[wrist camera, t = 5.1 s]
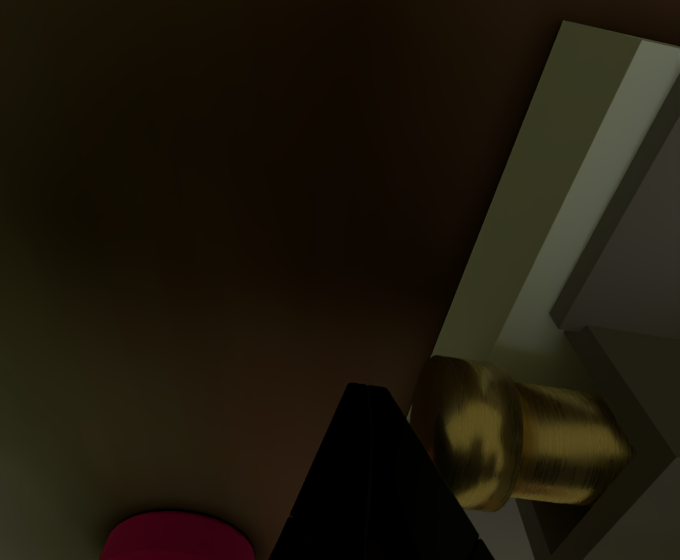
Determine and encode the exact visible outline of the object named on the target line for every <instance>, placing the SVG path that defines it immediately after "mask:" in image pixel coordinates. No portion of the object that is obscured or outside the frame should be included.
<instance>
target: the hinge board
mask: <svg viewBox="0 0 680 560" xmlns="http://www.w3.org/2000/svg"><path fill="white" fill-rule="evenodd" d="M434 355H441V356H447V357H454V358H461V359H468V360H475V361H482V362H488V363H495V364H498V365H501V366H502V367H503V368H505V370H506V371H507V372H508V373H509V375H510V376H511V378H512V380H513V381H515V382H522V383H529V384H536V385H543V386H550V387H557V388H564V389H571V390H578V391H585V392H592V393H599V394H601V395H602V397H603V398H604V400H605V402H606V403H607V405H608V407H609V408H610V410H611V412H612V413H613V415H614V417H615V418H616V420H617V422H618V423H619V425H620V427H621V428H622V430H623V432H624V433H625V435H626V437H627V438H628V440H629V442H630V443H631V445H632V447H633V448H634V450H635V452H636V453H637V454H636V455H635V456H634V457H633V459H632V460H631V461H630V462H629V463H628V465H627V466H626V467H625V468H624V469H623V471H622V472H621V473H620V474H619V475H618V477H617V478H616V479H615V480H614V481H613V483H612V484H611V485H610V486H609V487H608V489H607V490H606V491H605V492H604V493H603V494H602V496H601V497H600V498H599V499H598V500H597V502H596V503H595V504H594V505H593V506H592V507H588V506H579V505H571V504H562V503H554V502H545V501H537V500H528V499H520V498H511V497H510V498H509V500H508V502H507V503H506V504H505V505H504V506H503V507H502V508H501V509H500V510H498V511H496V512H492V513H490V512H481V511H473V510H464V509H463V510H464V511H465V513H466V514H467V516H468V518H469V519H470V521H471V522H472V524H473V526H474V527H475V529H476V530H477V532H478V533H479V538H481V539H482V540H483V541H484V543H485V544H486V546H487V548H488V549H489V551H490V552H491V554H492V555H493V557H494V559H495V560H680V46H676V45H671V44H667V43H662V42H658V41H653V40H649V39H644V38H640V37H636V36H631V35H627V34H622V33H618V32H613V31H609V30H605V29H600V28H596V27H591V26H587V25H582V24H578V23H574V22H569V21H565V20H563V22H562V24H561V27H560V30H559V32H558V35H557V37H556V40H555V42H554V45H553V47H552V50H551V52H550V55H549V57H548V60H547V63H546V65H545V68H544V70H543V73H542V75H541V78H540V80H539V83H538V85H537V88H536V90H535V93H534V96H533V98H532V101H531V103H530V106H529V108H528V111H527V113H526V116H525V118H524V121H523V123H522V126H521V129H520V131H519V134H518V136H517V139H516V141H515V144H514V146H513V149H512V151H511V154H510V156H509V159H508V162H507V164H506V167H505V169H504V172H503V174H502V177H501V179H500V182H499V184H498V187H497V190H496V192H495V195H494V197H493V200H492V202H491V205H490V207H489V210H488V212H487V215H486V217H485V220H484V223H483V225H482V228H481V230H480V233H479V235H478V238H477V240H476V243H475V245H474V248H473V250H472V253H471V256H470V258H469V261H468V263H467V266H466V268H465V271H464V273H463V276H462V278H461V281H460V283H459V286H458V289H457V291H456V294H455V296H454V299H453V301H452V304H451V306H450V309H449V311H448V314H447V317H446V319H445V322H444V324H443V327H442V329H441V332H440V334H439V337H438V339H437V342H436V344H435V347H434V350H433V352H432V355H431V357H432V356H434ZM431 357H430V358H431ZM411 408H412V405H411ZM411 408H410V410H409V413H408V416H407V418H406V419H407V421H408V422H409V424H410V415H411ZM479 538H478V539H479Z"/></svg>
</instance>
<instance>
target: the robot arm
mask: <svg viewBox="0 0 680 560" xmlns="http://www.w3.org/2000/svg"><path fill="white" fill-rule="evenodd" d="M478 538H479V533H478V532H477V530H476V529H475V527H474V526H473V524H472V522H471V521H470V519H469V518H468V516H467V514H466V513H465V511H464V510H463V508H462V506H461V505H460V503H459V502H458V500H457V498H456V497H455V495H454V494H453V492H452V491H451V489H450V487H449V486H448V484H447V483H446V481H445V479H444V478H443V476H442V475H441V473H440V471H439V470H438V468H437V467H436V465H435V463H434V462H433V460H432V459H431V457H430V456H429V454H428V452H427V451H426V449H425V448H424V446H423V444H422V443H421V441H420V440H419V438H418V436H417V435H416V433H415V432H414V430H413V428H412V427H411V425H410V424H409V422H408V421H407V419H406V417H405V416H404V414H403V413H402V411H401V409H400V408H399V406H398V405H397V403H396V401H395V400H394V398H393V397H392V395H391V393H390V392H389V390H388V389H387V388H385V387H380V386H373V385H369V386H367V385H365V384H358V383H348V385H347V387H346V389H345V391H344V393H343V396H342V398H341V400H340V402H339V405H338V407H337V409H336V411H335V414H334V416H333V418H332V420H331V423H330V425H329V427H328V429H327V432H326V434H325V436H324V438H323V441H322V443H321V445H320V447H319V450H318V452H317V454H316V456H315V459H314V461H313V463H312V465H311V468H310V470H309V472H308V474H307V477H306V479H305V481H304V483H303V486H302V488H301V490H300V492H299V495H298V497H297V499H296V501H295V504H294V506H293V508H292V510H291V513H290V515H289V518H288V519H287V521H286V523H285V525H284V528H283V530H282V532H281V534H280V537H279V539H278V541H277V543H276V545H275V547H274V549H273V551H272V553H271V555H270V557H269V559H268V560H495V559H494V557H493V555H492V554H491V552H490V551H489V549H488V548H487V546H486V544H485V543H484V541H483V540H482V539H481V538H479V539H478Z"/></svg>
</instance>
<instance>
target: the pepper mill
mask: <svg viewBox="0 0 680 560" xmlns="http://www.w3.org/2000/svg"><path fill="white" fill-rule="evenodd" d="M99 560H255V557H254V551H253V548H252V546H251V545H250V543H249V542H248V541H247V539H246V538H245V536H244V535H243V534H241V533H240V532H239V531H238V530H236V529H235V528H233V527H232V526H230V525H228V524H226V523H224V522H222V521H220V520H217V519H214V518H211V517H207V516H203V515H200V514H195V513H188V512H181V511H157V512H148V513H144V514H140V515H136V516H133V517H131V518H129V519H127V520H125V521H123V522H122V523H120V524H118V525H117V526H116V527H115V528H114V529H113V530H112V532H111V533H110V534H109V537H108V539H107V542H106V544H105V546H104V549H103V551H102V554H101V556H100V558H99Z"/></svg>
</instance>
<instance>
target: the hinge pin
mask: <svg viewBox="0 0 680 560" xmlns="http://www.w3.org/2000/svg"><path fill="white" fill-rule="evenodd" d="M410 425H411V427H412V428H413V430H414V432H415V433H416V435H417V436H418V438H419V440H420V441H421V443H422V444H423V446H424V448H425V449H426V451H427V452H428V454H429V456H430V457H431V459H432V460H433V462H434V463H435V465H436V467H437V468H438V470H439V471H440V473H441V475H442V476H443V478H444V479H445V481H446V483H447V484H448V486H449V487H450V489H451V491H452V492H453V494H454V495H455V497H456V498H457V500H458V502H459V503H460V505H461V506H462V508H463V509H464V510H473V511H481V512H490V513H492V512H496V511H498V510H500V509H501V508H502V507H503V506H504V505H505V504H506V503H507V502H508V500H509V498H510V497H511V498H520V499H528V500H537V501H545V502H554V503H562V504H571V505H579V506H588V507H592V506H593V505H594V504H595V503H596V502H597V500H598V499H599V498H600V497H601V496H602V494H603V493H604V492H605V491H606V490H607V489H608V487H609V486H610V485H611V484H612V483H613V481H614V480H615V479H616V478H617V477H618V475H619V474H620V473H621V472H622V471H623V469H624V468H625V467H626V466H627V465H628V463H629V462H630V461H631V460H632V459H633V457H634V456H635V455H636V454H637V453H636V452H635V450H634V448H633V447H632V445H631V443H630V442H629V440H628V438H627V437H626V435H625V433H624V432H623V430H622V428H621V427H620V425H619V423H618V422H617V420H616V418H615V417H614V415H613V413H612V412H611V410H610V408H609V407H608V405H607V403H606V402H605V400H604V398H603V397H602V395H601V394H599V393H592V392H585V391H578V390H571V389H564V388H557V387H550V386H543V385H536V384H529V383H522V382H515V381H513V380H512V378H511V376H510V375H509V373H508V372H507V371H506V370H505V368H503V367H502V366H501V365H498V364H495V363H488V362H482V361H475V360H468V359H461V358H454V357H447V356H441V355H434V356H432V357H431V358H430V359H429V360H428V361H427V362H426V364H425V365H424V367H423V369H422V371H421V373H420V376H419V379H418V381H417V385H416V388H415V392H414V397H413V402H412V408H411V415H410Z"/></svg>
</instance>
